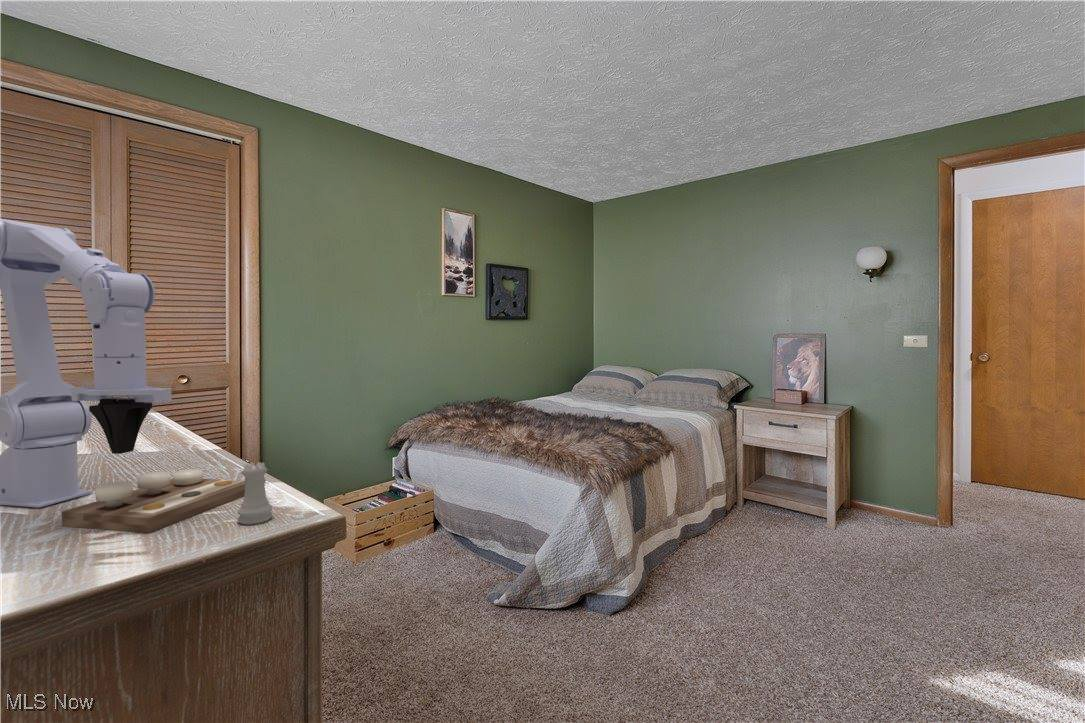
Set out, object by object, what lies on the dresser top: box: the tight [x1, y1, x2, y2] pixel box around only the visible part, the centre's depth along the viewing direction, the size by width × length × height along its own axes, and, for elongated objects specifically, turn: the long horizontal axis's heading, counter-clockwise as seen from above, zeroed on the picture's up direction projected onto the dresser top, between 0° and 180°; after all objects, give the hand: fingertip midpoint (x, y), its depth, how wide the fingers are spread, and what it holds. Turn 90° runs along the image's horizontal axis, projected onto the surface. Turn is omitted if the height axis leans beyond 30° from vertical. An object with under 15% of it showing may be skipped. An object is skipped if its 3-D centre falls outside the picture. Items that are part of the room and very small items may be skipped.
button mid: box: [136, 470, 171, 495], centre depth 77 cm, size 4×4×3 cm
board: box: [61, 478, 245, 534], centre depth 77 cm, size 14×18×2 cm
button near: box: [94, 481, 134, 507], centre depth 71 cm, size 4×4×3 cm
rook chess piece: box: [236, 461, 274, 526], centre depth 71 cm, size 4×4×8 cm
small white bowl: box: [172, 468, 204, 487], centre depth 83 cm, size 4×4×3 cm
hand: (122, 452), depth 72 cm, fingers closed
